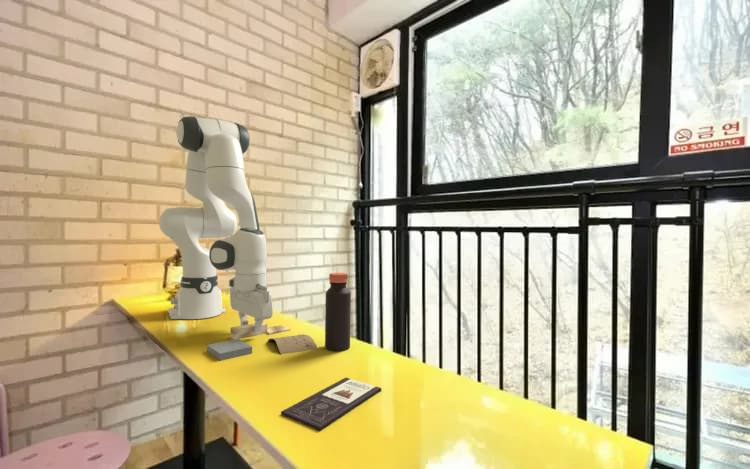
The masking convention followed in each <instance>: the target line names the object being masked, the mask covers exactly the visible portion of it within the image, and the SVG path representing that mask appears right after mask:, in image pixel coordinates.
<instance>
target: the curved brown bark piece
mask: <svg viewBox="0 0 750 469" xmlns="http://www.w3.org/2000/svg"><path fill="white" fill-rule="evenodd" d="M274 341H275V343H276V345H277V348H278V351H279V353H280V355H281V356H282V355H287V354H292V353H293V354H294V353H301V352H308V351H315V350H318V348H317V344H316V342H315V340H314V339H313V338H312V337H311V336H310V335H308V334H303V333H302V334H297V335H290V336H288V335H287V336H281V337H275V338H274V337H272V338H269V339H267V342H274Z"/></svg>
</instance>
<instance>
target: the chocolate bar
mask: <svg viewBox="0 0 750 469" xmlns="http://www.w3.org/2000/svg"><path fill="white" fill-rule="evenodd" d="M380 392H382V388H381V387H379V386H375V385H372V384H369V383H365V382H362V381H359V380H357V379H353V378H349V377H344V378H342V379H341V380H338V381H335V383H333V384H331V385H329V386H327V387H325V388H323V389H321V390H319V391H318V392H316V393H314V394H311V395H310V396H308V397H306V398H304V399H302V400H300V401H299V402H296V403H295V404H293V405H291V406H289V407H286V409H283V410H281V411H280V415H281V416H284V417H285V418H288V419H290V420H293V421H295V422H298V423H300V424H302V425H305V426H306V427H310V428H312V429H315V430H316V431H319V432H322V431H323V430H324V429H326V428H327V427H329V426H330V425H332V424H334V423H335V422H337V421H338V420H340V419H341V418H342V417H344V416H346V415H347V414H349V413H351V412H352V411H353V410H354V409H356V408H358V407H359V406H360V405H362V404H363V403H365V402H366V401H368V400H369V399H371V398H372V397H374V396H376V395H377V394H379V393H380Z"/></svg>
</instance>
